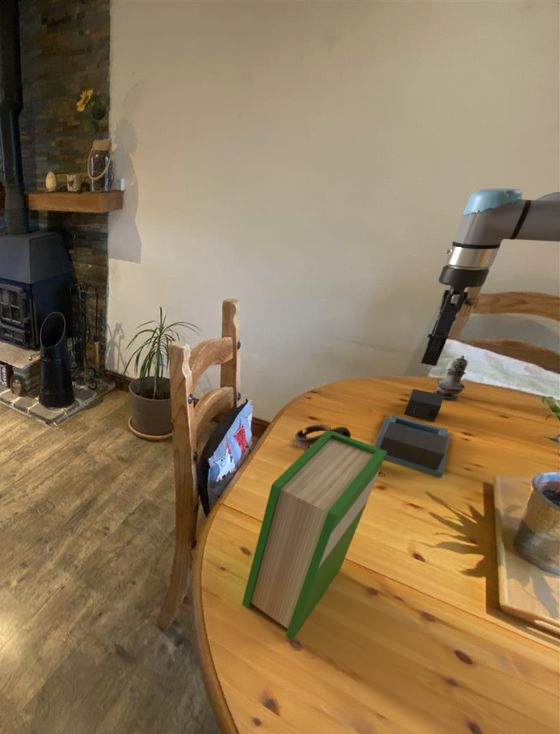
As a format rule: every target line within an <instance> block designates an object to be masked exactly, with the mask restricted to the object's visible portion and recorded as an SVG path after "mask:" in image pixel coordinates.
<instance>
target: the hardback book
mask: <svg viewBox="0 0 560 734" xmlns="http://www.w3.org/2000/svg"><path fill="white" fill-rule="evenodd" d="M324 432H325V433H324ZM324 432H323V433H324V434H323V433H322V434H323V435H322V436H321V437H320V438H319V439H318V440H317V441H316V442H315V443H314V444H313V445H311V446H310V448H309V449H307V450H306V451H304V452H303V453H302V454H301V455H300V456H299V457H298V458H297V459H296V460H295V461H294V462H293V463H292V464H291V465H290V466H289V467H288V468H287V469H286V470H284V472H283V473H282V474H281V475H279V477H277V479H275V480H274V481H273V483H272V484H271V487H270V491H269V495H268V498H267V503H266V507H265V509H264V510H265V511H264V515H263V519H262V522H261V526H260V531H259V535H258V539H257V542H256V547H255V551H254V555H253V558H252V563H251V567H250V571H249V574H248V579H247V583H246V587H245V590H244V596H243V599H242V604H241V605H243V606H244V607H245V608H246V609H249V608H250V606H252V605H253V606H254V607H256V608H257V609H258V610H260V611H262V612H263V613H264V614H266V615H267V616H269V618H271V619H273V620H274V621H275V622H277V623H278V624H280V625H281V626H283V627H284V628H285V629H287V630H286V633H285V636H286V637H287V638H289V640H291V641H293V640H294V639H295V637H296V636H297V634H298V633H299V631H300V630H301V629H302V627H303V625H304V624H305V622H306V621H307V619H308V618H309V616H310V615H311V613H312V612H313V610H314V609H315V608H316V606H317V605H318V603H319V602H320V601H321V599H322V598H323V596H324V594H325V592H326V591H327V590H328V588H329V587H330V585H331V584H332V582H333V581H334V579H335V578H336V576H337V575H338V573H339V572H340V571H341V569H342V567H343V564H344V561H345V559H346V556H347V553H348V551H349V548H350V547H351V544H352V541H353V539H354V536H355V533H356V531H357V528H358V527H359V526H358V525H359V523H360V522H361V521H360V520H361V519H362V516H363V513H364V511H365V508H366V506H367V503H368V501H369V498H370V496H371V493H372V490H373V488H374V486H375V483H376V480H377V478H378V476H379V473H380V471H381V468H382V465H383V463H384V461H385V460H384V458H385V455H386V453H387V451H385V450H382V449H379V448H377V447H374V446H373V445H372V444H368V443H366V442H362V441H360V440H357V439H354V438H352V437H350V438H349V437H346V436H344V435H341V434H338V433H335V432H333V431H330V430H327V431H324Z"/></svg>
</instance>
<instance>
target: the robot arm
mask: <svg viewBox="0 0 560 734" xmlns="http://www.w3.org/2000/svg"><path fill="white" fill-rule="evenodd" d="M523 192H524V191H523V190H522V189H519V188H484V189H480V190H477V191H475V192H474V193H472V194H471V195H470V197H469V200H468V202H467V204H466V207H465V208H464V211H463V212H462V214H461V215H462V216H461V218H460V221H459V224H458V227H457V230H456V232H455V236H454V238H453V241H452V243H451V246H450V248H449V249H446V250H445V252H444V253H445V254H447V257H446V260H445V264H446V265H444V266H443V267H442V268H441V272H440V275H439V277H438V282H439V283H440V284H442V285H445V286H450V287H449V289H445V290H444V292H443V294H442V299H441V301H442V302H441V304H440V307H439V313H438V314H439V315H438V316H437V319H436V320H435V324H434V326H433V328H432V331H431V333H428V335H427V338H428V341H427V344H426V345H427V346H426V349H425V351H424V354H423V356H422V358H421V361H420V364H422V365H423V364H424V365H428V366H434V367H437V365H438V362H439V360H440V357H441V354H442V353H443V350H444V347H445V345H446V342H447V340H448V339H449V334H450V332H451V329H452V327H453V325H454V322H456V319H457V314H459V313H460V312H461V310H462V308H463V304H464V303H466V301H467V298H468V294H469V291H465V290H466V289H467V288H480V287H482V286H483V285H485V283H486V280H487V277H488V275H489V272H490V270H489V268H490V267H492V266H493V264H494V262H495V259H496V258H497V255H498V252H499V250H500V247H501V245H502V244H501V243H502V242H503V240H511V241H512V240H513V241H514V240H521V241H538V242H541V241H542V242H556V243H557V242H558V243H560V191H555V192H552V193H548V194H544V195H542V196H540V197H539V198H537V199H523Z"/></svg>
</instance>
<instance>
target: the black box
mask: <svg viewBox="0 0 560 734" xmlns="http://www.w3.org/2000/svg"><path fill="white" fill-rule="evenodd" d="M443 400H444V399H443V395H439V394H435V393H433V392H429V391H426V390H420V389H417V388H412V391H411V393H410V396H409V399H408V401H407V403H406V406H405V408H404V411H403V415H405V416H409V417H413V418H417V419H419V420H424V421H429V422H432V423H434V422H436V419H437V417H438V415H439V413H440V410H441V408H442V404H443Z"/></svg>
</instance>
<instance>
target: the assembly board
mask: <svg viewBox="0 0 560 734" xmlns="http://www.w3.org/2000/svg"><path fill="white" fill-rule="evenodd" d="M450 436H451V434H450V433H448V429H447V428H443V427H439V426H436V425H432V424H428V423H425V422H420V421H417V420H413V419H410V418H405V417H401V416H397V415H394V414H391V415H390V417H385V419H384V421H383V424H382V426H381V429H380V431H379V433H378V436H377V438H376V441H375V443H374V447H377V448H379V449H382V450H385V451H387V453H386V455H385V458H384V460H383V461H386V462H387V461H388V462H389V463H393V464H395V465H400V466H402V467H404V468H405V467H406V468H409V469H412V470H415V471H419V472H422V473H424V474H427V475H430V476H434V477H437V478H441V479H442V477H443V475H444V471H445V465H446V460H447V454H448V448H449V443H450Z"/></svg>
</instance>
